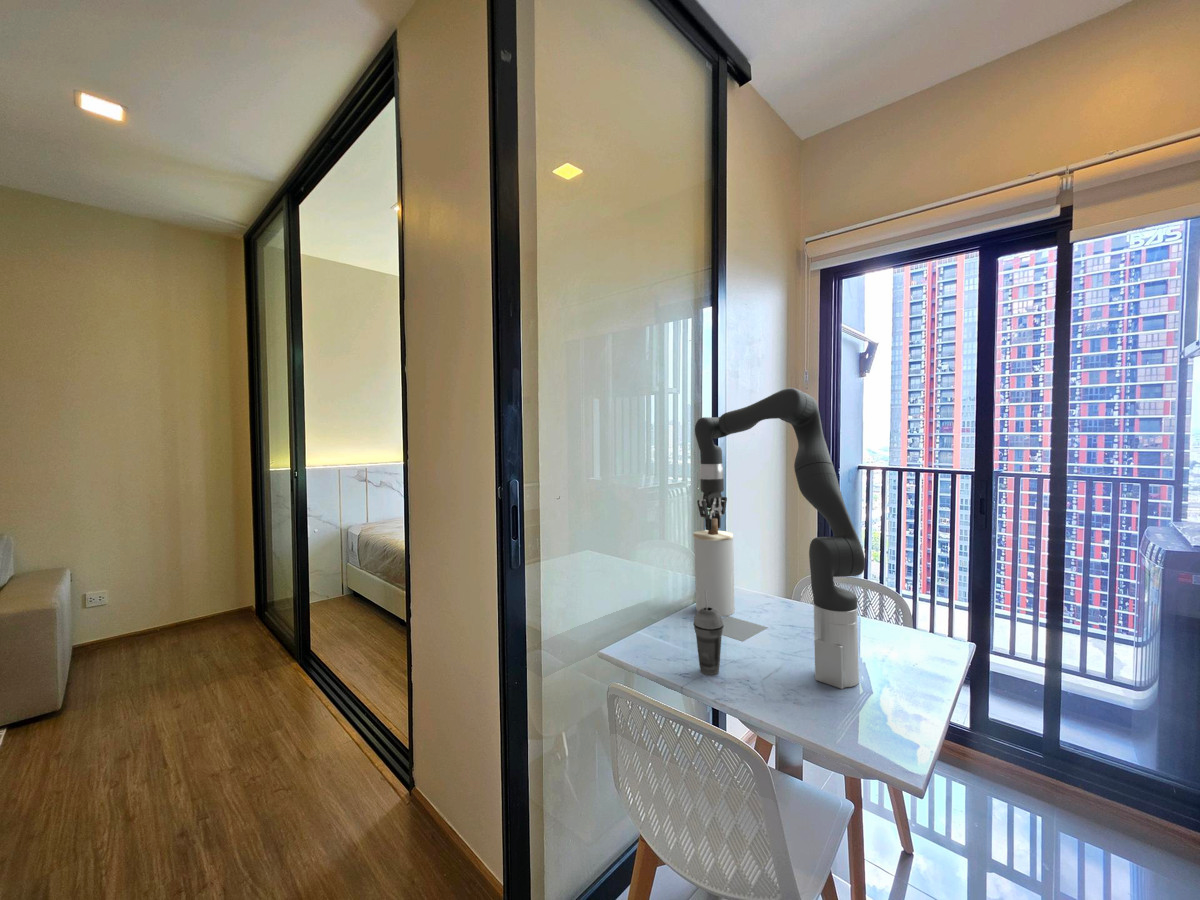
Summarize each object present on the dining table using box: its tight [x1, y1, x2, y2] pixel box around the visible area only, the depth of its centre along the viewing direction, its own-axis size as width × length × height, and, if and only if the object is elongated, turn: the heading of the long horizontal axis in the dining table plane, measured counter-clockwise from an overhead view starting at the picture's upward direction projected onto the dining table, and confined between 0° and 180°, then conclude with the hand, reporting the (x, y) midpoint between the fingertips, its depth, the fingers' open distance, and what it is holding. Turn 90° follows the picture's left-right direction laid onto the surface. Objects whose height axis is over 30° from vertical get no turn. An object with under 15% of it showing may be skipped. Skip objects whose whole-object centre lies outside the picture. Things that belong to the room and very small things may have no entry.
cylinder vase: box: [693, 537, 736, 618], centre depth 158 cm, size 12×12×25 cm
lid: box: [692, 517, 734, 541], centre depth 158 cm, size 13×13×6 cm
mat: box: [721, 615, 769, 642], centre depth 142 cm, size 14×14×1 cm
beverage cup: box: [692, 589, 724, 677], centre depth 117 cm, size 7×7×20 cm
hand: (713, 528), depth 158 cm, fingers open, 4 cm apart
